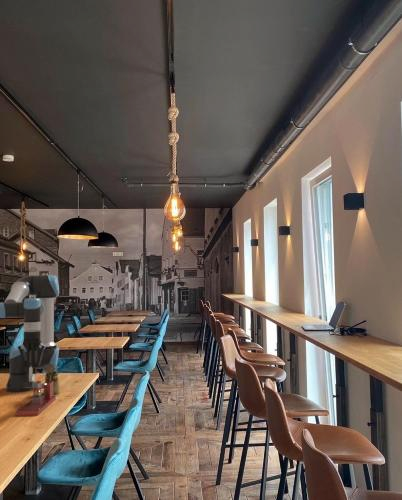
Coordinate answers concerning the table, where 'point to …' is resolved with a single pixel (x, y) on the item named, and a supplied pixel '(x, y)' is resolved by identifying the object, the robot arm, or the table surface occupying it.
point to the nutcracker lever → (33, 385)
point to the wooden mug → (51, 378)
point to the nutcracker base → (38, 407)
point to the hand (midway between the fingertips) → (31, 381)
